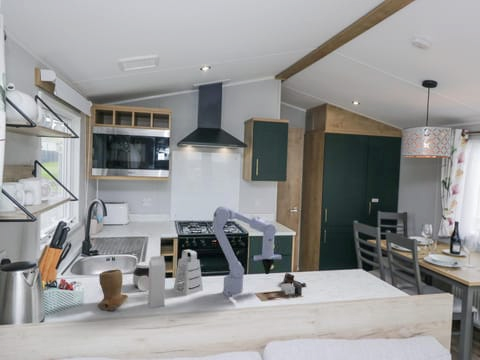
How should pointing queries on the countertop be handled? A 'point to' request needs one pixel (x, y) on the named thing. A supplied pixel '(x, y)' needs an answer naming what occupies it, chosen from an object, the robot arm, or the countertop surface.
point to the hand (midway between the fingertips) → (266, 273)
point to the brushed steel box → (288, 289)
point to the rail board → (280, 294)
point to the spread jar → (141, 276)
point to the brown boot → (111, 289)
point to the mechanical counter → (291, 279)
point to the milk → (156, 282)
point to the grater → (188, 274)
